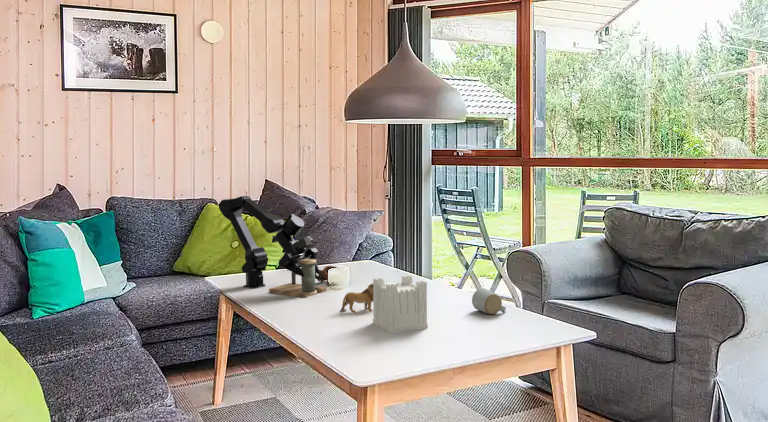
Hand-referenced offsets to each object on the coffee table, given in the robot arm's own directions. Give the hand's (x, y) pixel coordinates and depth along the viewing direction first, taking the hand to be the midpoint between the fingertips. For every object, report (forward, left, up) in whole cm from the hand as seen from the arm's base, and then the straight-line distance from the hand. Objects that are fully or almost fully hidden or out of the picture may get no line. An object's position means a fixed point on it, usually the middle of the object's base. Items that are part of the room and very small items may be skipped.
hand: (311, 274), depth 253 cm
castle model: (+53, -22, -8) cm, 57 cm away
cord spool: (-2, 0, -8) cm, 8 cm away
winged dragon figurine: (-7, +20, -8) cm, 23 cm away
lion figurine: (+31, -13, -8) cm, 34 cm away
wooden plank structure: (-7, +1, -8) cm, 11 cm away
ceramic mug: (+70, +7, -8) cm, 71 cm away
